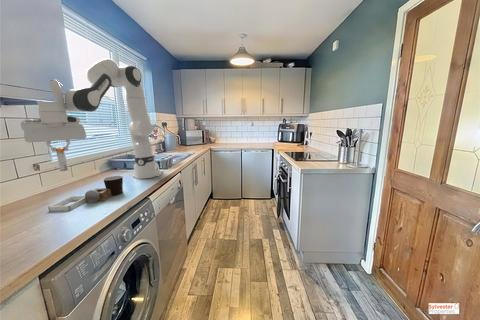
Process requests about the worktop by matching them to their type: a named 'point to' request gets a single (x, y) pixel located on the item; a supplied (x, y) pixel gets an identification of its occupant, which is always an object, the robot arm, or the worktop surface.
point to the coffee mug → (114, 184)
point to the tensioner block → (98, 195)
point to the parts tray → (59, 206)
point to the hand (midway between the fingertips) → (60, 151)
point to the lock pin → (61, 159)
